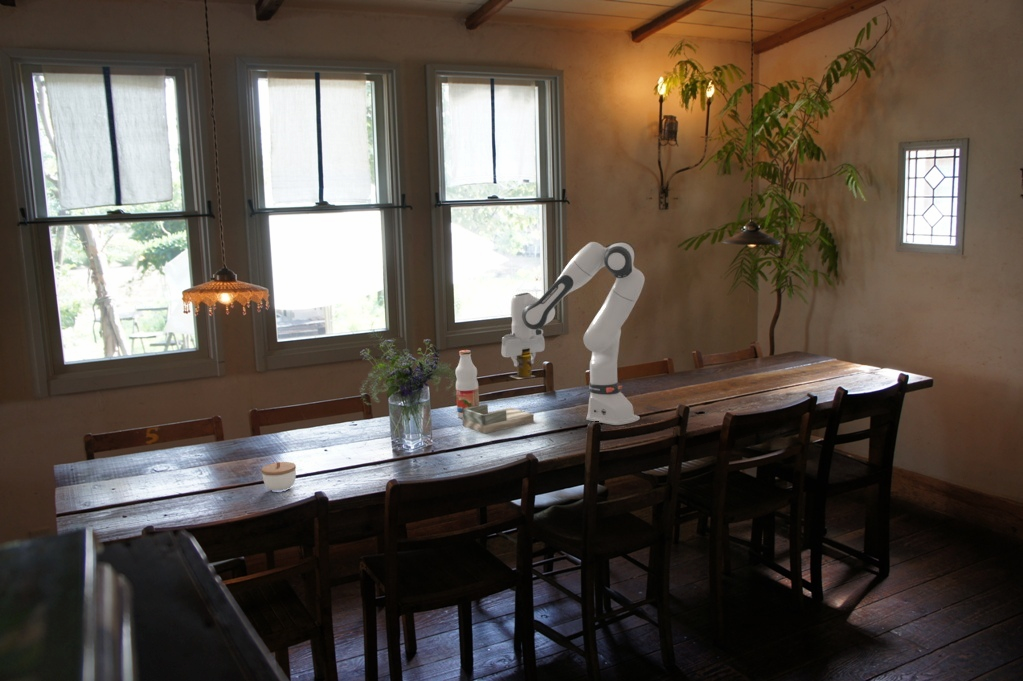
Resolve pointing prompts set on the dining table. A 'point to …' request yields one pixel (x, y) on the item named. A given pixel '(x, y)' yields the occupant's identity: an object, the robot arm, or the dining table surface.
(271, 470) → the lidded jar
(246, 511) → the dining table surface
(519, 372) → the condiment
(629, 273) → the robot arm
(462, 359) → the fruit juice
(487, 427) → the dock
